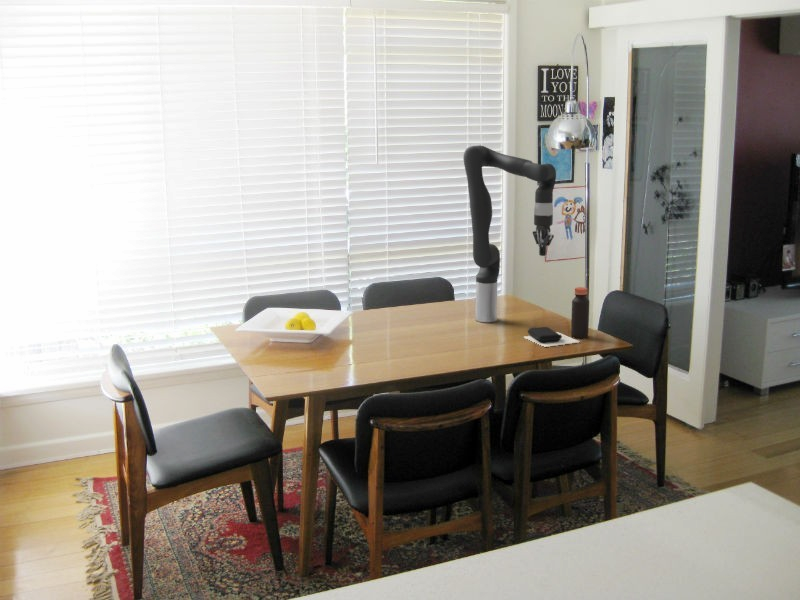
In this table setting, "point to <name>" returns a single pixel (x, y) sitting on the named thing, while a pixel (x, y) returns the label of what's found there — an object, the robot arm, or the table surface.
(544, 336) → the carrying case or bag
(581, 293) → the bottle
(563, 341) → the cream paper sheet
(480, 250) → the robot arm
